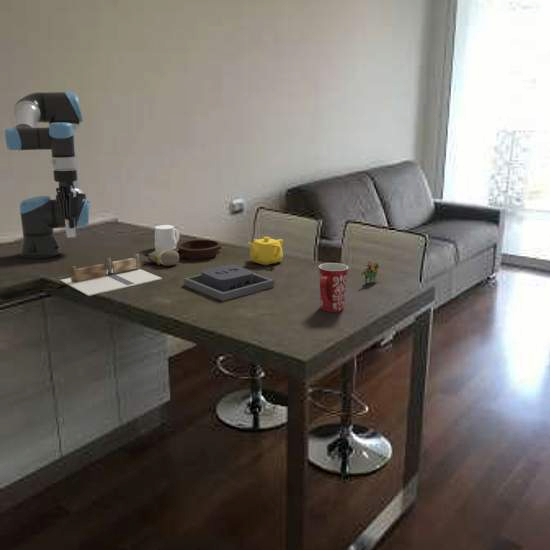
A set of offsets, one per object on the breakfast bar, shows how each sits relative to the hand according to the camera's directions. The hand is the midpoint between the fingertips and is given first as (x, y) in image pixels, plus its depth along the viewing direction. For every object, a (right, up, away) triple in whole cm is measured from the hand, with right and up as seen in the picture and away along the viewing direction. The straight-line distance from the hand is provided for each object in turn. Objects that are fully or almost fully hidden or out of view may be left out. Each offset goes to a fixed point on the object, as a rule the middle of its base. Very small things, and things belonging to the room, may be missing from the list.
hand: (71, 236), depth 213 cm
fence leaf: (+6, -15, +2) cm, 16 cm away
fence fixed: (+16, -13, +11) cm, 23 cm away
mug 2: (+89, -24, -26) cm, 95 cm away
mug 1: (+26, -2, +46) cm, 53 cm away
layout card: (+14, -15, +2) cm, 20 cm away
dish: (+41, -6, +35) cm, 54 cm away
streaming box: (+55, -17, -3) cm, 58 cm away
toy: (+28, -9, +24) cm, 38 cm away
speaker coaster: (+56, -17, -4) cm, 58 cm away
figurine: (+105, -17, 0) cm, 106 cm away
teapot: (+68, -9, +25) cm, 73 cm away
